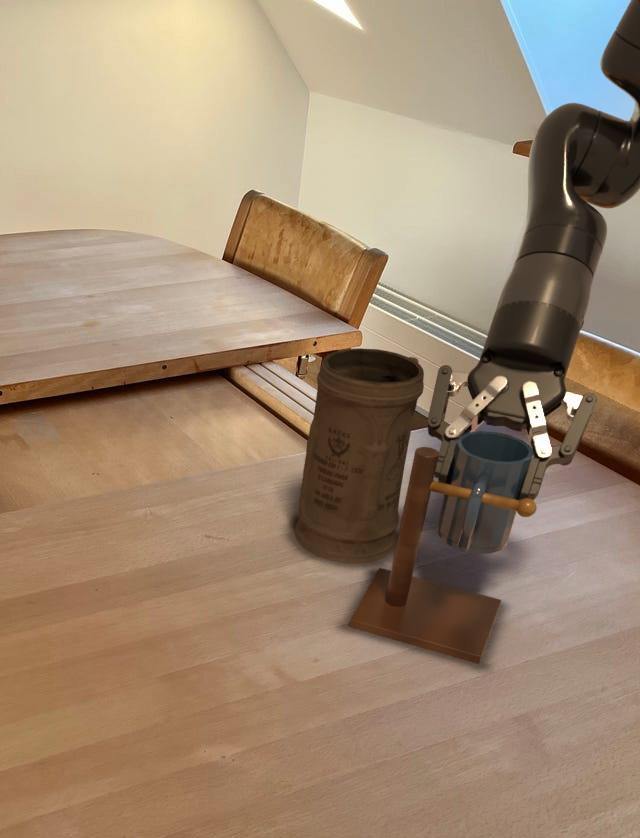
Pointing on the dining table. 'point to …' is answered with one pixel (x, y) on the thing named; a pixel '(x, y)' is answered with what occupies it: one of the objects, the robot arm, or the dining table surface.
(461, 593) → the mug stand
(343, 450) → the beer stein
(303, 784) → the dining table surface
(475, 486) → the mug
